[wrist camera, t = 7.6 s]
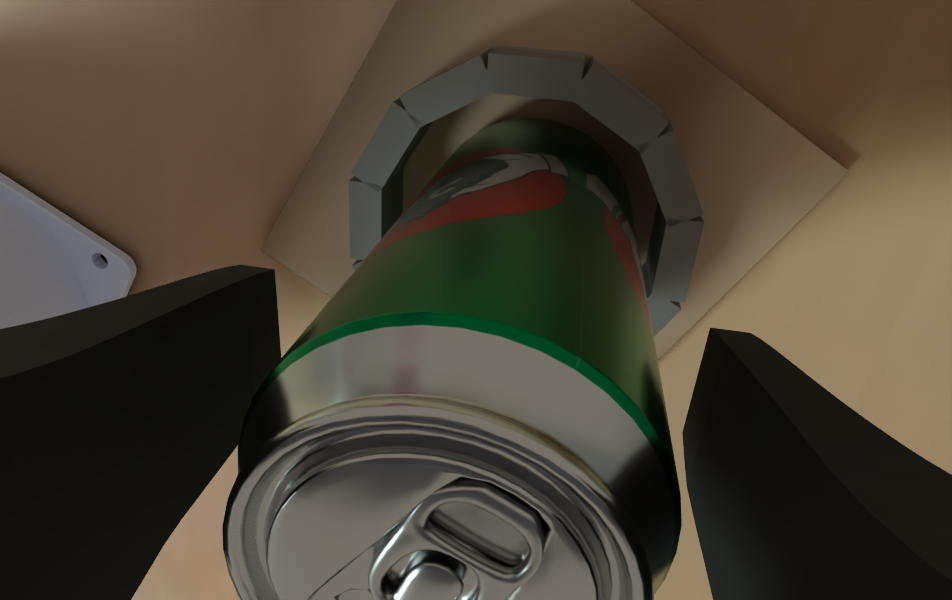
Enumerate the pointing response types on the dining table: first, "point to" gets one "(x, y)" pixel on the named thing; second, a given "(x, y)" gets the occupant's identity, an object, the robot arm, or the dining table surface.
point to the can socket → (577, 105)
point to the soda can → (471, 401)
